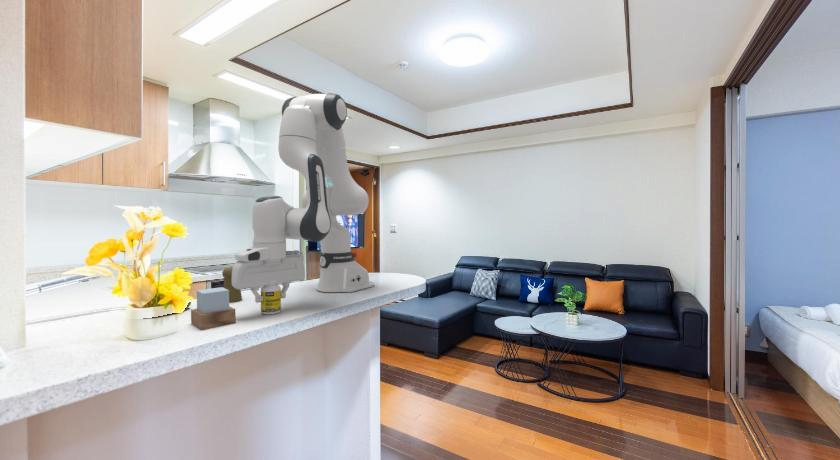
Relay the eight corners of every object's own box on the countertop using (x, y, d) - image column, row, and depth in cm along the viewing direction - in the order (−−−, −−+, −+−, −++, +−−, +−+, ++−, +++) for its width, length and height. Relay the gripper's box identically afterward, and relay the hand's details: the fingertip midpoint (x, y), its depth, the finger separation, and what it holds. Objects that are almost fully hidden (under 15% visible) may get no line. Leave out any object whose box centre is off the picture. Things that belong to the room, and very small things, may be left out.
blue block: (222, 305, 98) (221, 287, 97) (229, 309, 93) (229, 290, 93) (197, 309, 93) (196, 290, 93) (203, 313, 89) (202, 293, 89)
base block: (224, 318, 99) (224, 304, 99) (235, 324, 94) (235, 308, 94) (191, 324, 93) (190, 309, 93) (201, 331, 88) (200, 315, 88)
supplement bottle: (264, 316, 100) (263, 281, 100) (258, 312, 104) (257, 278, 104) (283, 312, 104) (283, 279, 103) (277, 308, 108) (277, 276, 108)
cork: (246, 298, 121) (245, 266, 121) (235, 303, 115) (234, 269, 115) (229, 298, 122) (228, 266, 122) (217, 302, 116) (216, 269, 116)
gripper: (297, 249, 113) (298, 292, 114) (228, 254, 98) (229, 304, 99) (308, 250, 109) (309, 295, 109) (237, 256, 94) (238, 308, 94)
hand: (270, 299), depth 104 cm, fingers closed on supplement bottle, 5 cm apart
